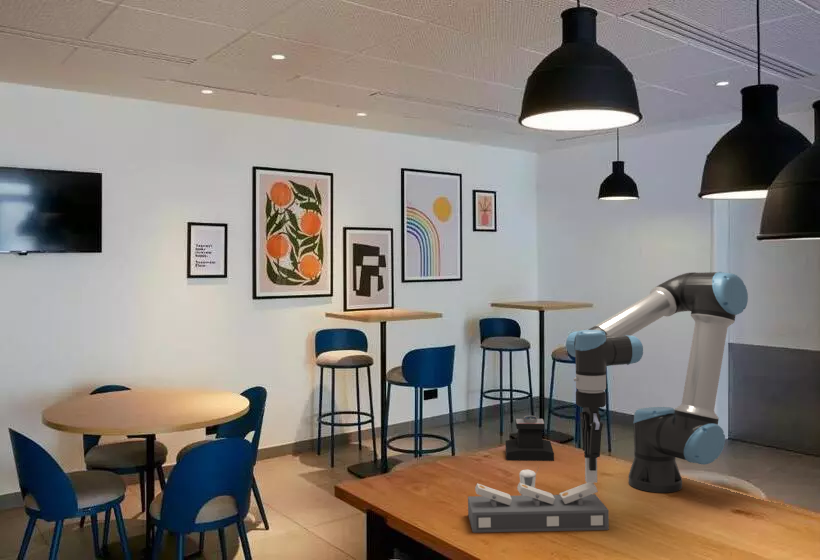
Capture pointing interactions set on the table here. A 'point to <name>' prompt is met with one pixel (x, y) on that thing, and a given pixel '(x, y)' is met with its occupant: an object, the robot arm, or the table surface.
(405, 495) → the table surface
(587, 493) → the rocker
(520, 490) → the rocker mid
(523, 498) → the console
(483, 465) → the table surface
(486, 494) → the rocker
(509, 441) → the black pedestal stand
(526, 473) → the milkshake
